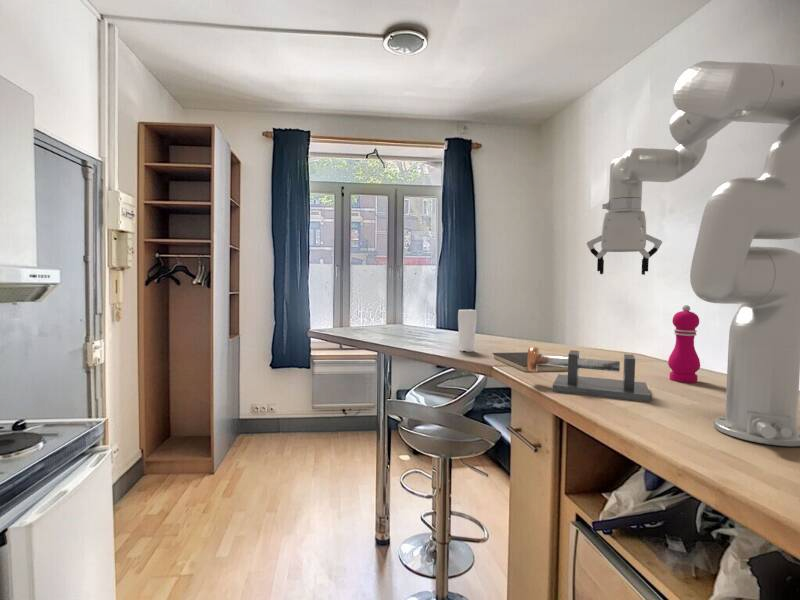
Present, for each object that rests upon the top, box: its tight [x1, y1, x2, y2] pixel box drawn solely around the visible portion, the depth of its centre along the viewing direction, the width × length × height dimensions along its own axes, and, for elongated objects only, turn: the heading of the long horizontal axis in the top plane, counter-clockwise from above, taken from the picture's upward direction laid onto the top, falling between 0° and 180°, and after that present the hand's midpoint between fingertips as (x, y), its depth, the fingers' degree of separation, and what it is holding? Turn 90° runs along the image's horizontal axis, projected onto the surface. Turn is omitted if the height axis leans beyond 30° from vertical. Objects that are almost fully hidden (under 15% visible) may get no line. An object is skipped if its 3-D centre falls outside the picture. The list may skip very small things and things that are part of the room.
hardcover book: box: [492, 351, 568, 373], centre depth 141 cm, size 16×23×2 cm
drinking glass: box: [457, 309, 478, 353], centre depth 164 cm, size 7×7×15 cm
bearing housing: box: [552, 349, 652, 403], centre depth 107 cm, size 20×14×8 cm
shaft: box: [527, 346, 621, 373], centre depth 109 cm, size 20×6×6 cm, turn 66°
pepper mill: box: [667, 304, 701, 384], centre depth 119 cm, size 7×7×20 cm
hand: (622, 274), depth 116 cm, fingers open, 9 cm apart
